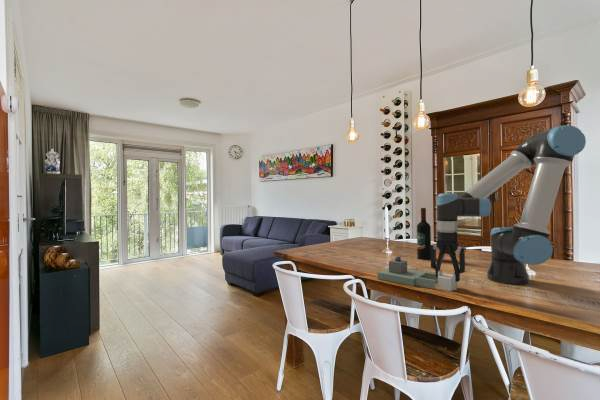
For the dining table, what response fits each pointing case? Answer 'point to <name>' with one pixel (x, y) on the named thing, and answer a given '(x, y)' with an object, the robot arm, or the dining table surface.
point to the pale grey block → (445, 282)
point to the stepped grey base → (407, 275)
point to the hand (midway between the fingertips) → (447, 287)
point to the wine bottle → (423, 238)
